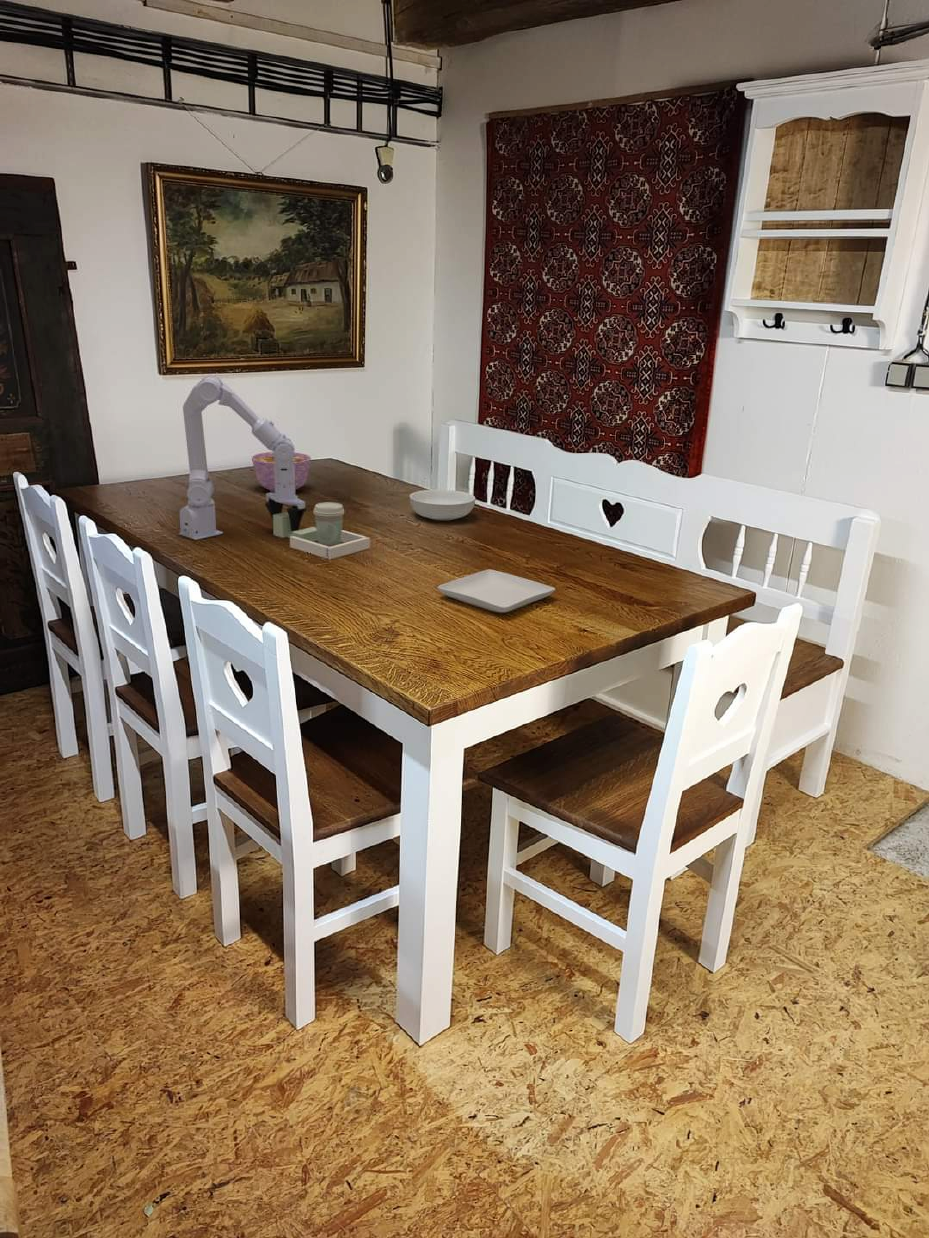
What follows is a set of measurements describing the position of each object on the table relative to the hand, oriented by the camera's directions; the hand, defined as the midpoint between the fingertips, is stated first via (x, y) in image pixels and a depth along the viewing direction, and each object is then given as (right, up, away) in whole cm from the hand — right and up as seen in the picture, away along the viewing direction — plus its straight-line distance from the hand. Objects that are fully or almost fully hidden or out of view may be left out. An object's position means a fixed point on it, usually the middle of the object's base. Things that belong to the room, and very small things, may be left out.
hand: (286, 528), depth 262 cm
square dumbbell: (+3, -3, -2) cm, 5 cm away
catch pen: (+14, -6, -10) cm, 18 cm away
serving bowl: (+44, +6, +27) cm, 52 cm away
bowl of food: (-11, +18, +50) cm, 55 cm away
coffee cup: (+14, -6, -9) cm, 18 cm away
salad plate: (+59, -22, -42) cm, 76 cm away
